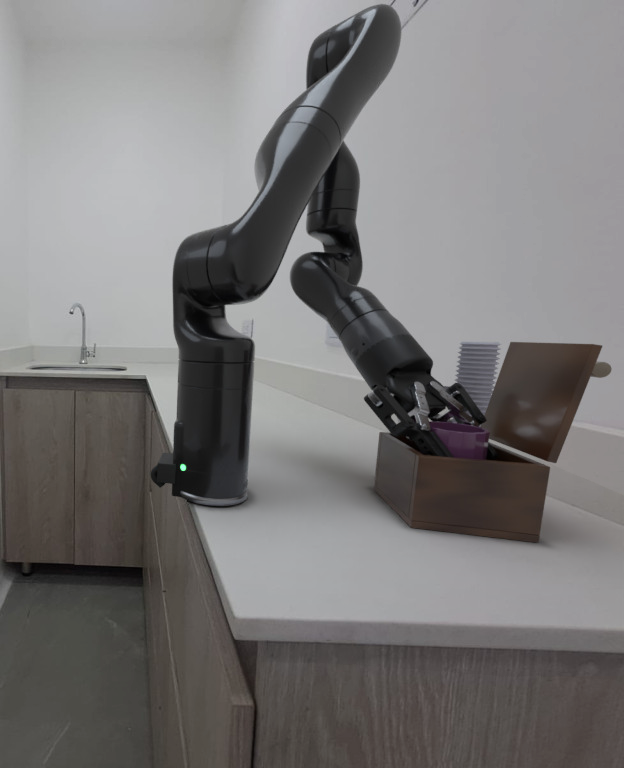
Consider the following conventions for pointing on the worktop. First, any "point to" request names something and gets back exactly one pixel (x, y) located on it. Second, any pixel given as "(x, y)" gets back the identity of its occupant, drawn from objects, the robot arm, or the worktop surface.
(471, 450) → the cup
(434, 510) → the chest
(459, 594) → the worktop surface
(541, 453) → the lid
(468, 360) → the screw
